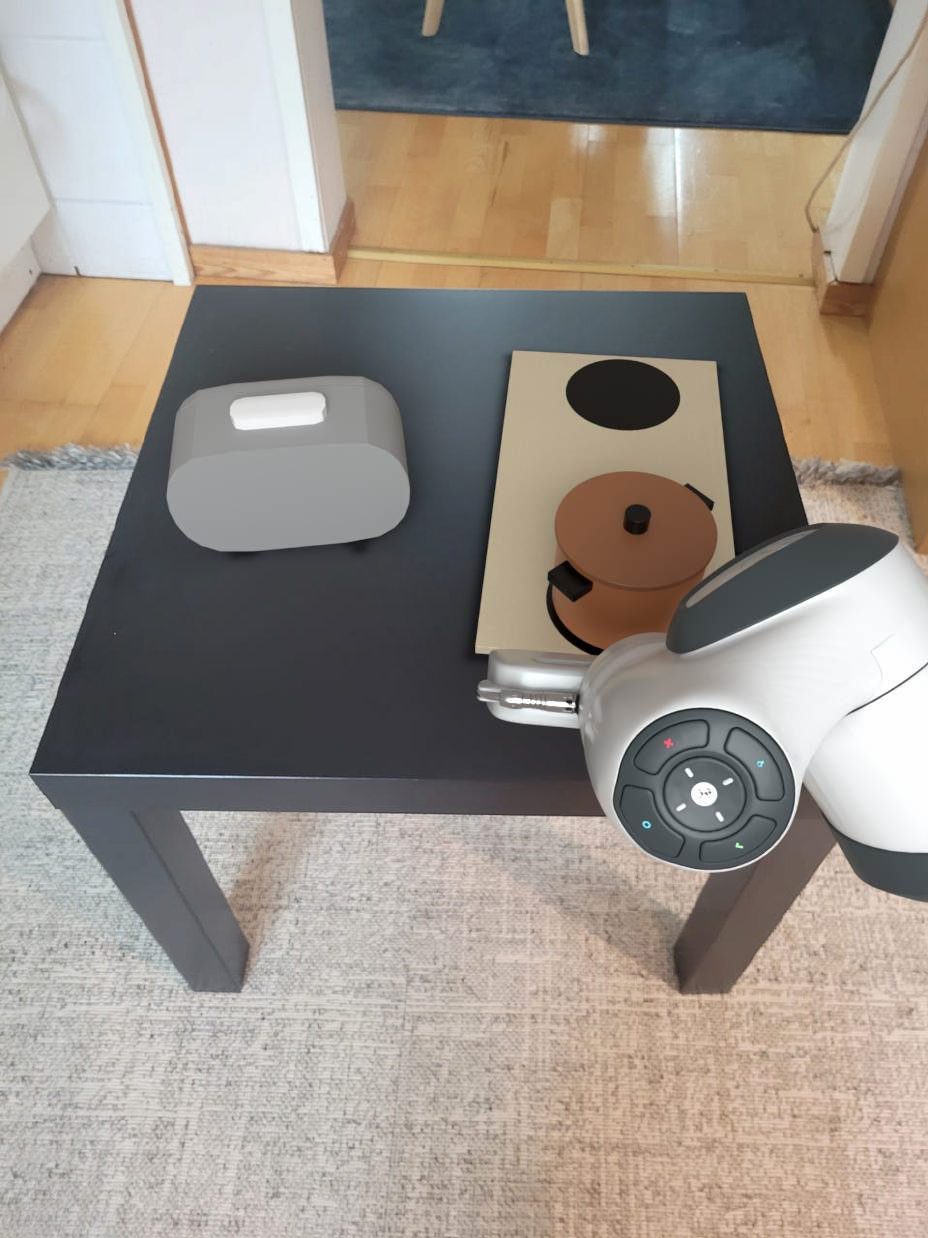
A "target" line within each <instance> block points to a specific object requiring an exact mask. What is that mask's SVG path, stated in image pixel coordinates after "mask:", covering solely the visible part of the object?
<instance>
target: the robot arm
mask: <svg viewBox="0 0 928 1238" xmlns="http://www.w3.org/2000/svg"><path fill="white" fill-rule="evenodd" d="M487 663H488V665H487V673H486V674H487V677H486V679H483V680H481V681H479V682H478V684H477V687H476V690H475V694H476V698H477V700H479V701H481V702H485V703H486V706H487V708H488V710H489V712H490V713H491V714H492V716H494V717H495V718H496V719H499V720H500V721H501V720H502V721H505V722H510V723H515V724H523V725H534V726H544V727H556V728H569V729H578V730H579V732H580V737H581V741H582V747H583V751H584V760H585V765H586V769H587V773H588V777H589V780H590V782H591V786H592V789H593V792H594V794H595V797H596V798H597V801H598V803H599V805H600V808H601V809H602V811H603V813H604V814H605V816H606V817H607V819H608V821H609V822H610V823H611V825H612V826H613V828H614V829H615V830H616V831H617V832H618V833H619V834H620V836H622V838H623V839H625V840H626V841H627V842H628V843H629V844H630V845H631V846H633V847H634V848H636V849H637V850H638V851H639V852H641V853H642V854H644V855H646V856H647V857H648V858H650V859H652V860H654V861H656V862H658V863H661V864H662V865H664V866H665V865H666V866H668V867H671V868H674V869H678V870H683V871H688V872H695V873H696V872H697V873H704V874H705V873H707V874H708V873H709V874H712V873H715V874H716V873H724V872H731V871H734V870H735V871H736V870H738V869H741V868H744V867H747V866H750V865H751V864H753V863H756V862H757V861H759V860H761V859H762V858H763V857H765V856H767V854H769V853H770V852H771V851H773V850H774V849H775V848H776V847H777V846H778V844H779V843H780V842H781V841H782V840H783V838H784V837H785V836H786V834H787V833H788V831H789V830H790V828H791V826H792V824H793V822H794V820H795V816H796V813H797V810H798V806H799V803H800V797H801V790H802V785H803V786H804V787H805V788H806V790H807V792H808V793H809V794H810V795H811V797H812V799H813V800H814V801H815V803H816V805H817V806H818V807H819V811H820V813H821V816H822V818H823V820H824V822H825V824H827V827H828V829H829V830H830V832H831V834H832V836H833V837H834V839H835V841H836V843H837V844H838V846H839V848H840V850H841V852H842V853H843V855H844V857H845V859H846V860H847V863H848V865H849V866H850V869H852V872H853V873H854V874H855V875H856V877H857V878H858V879H860V880H861V881H862V882H863V883H864V884H866V885H868V886H870V887H871V888H874V889H877V890H879V891H882V892H885V893H888V894H891V895H894V896H897V897H900V898H904V899H907V900H912V901H916V902H921V903H927V904H928V577H927V575H926V574H925V573H924V571H923V570H922V569H921V567H920V566H919V565H918V563H917V561H916V560H915V558H914V557H913V556H912V555H911V553H910V551H909V550H908V549H907V548H906V546H905V544H903V542H902V541H901V540H900V536H899V535H898V534H896V533H893V532H891V531H889V530H887V529H886V530H885V529H884V528H881V527H877V526H872V525H867V524H861V523H860V524H859V523H847V522H818V523H812V524H808V525H804V526H800V527H797V528H795V529H791V530H788V531H786V532H783V533H780V534H778V535H775V536H773V537H770V538H768V539H766V540H764V541H762V542H760V543H757V544H756V545H754V546H752V547H750V548H749V549H747V550H744V551H743V552H742V553H740V554H738V555H735V558H733V559H732V560H730V561H728V562H727V563H725V564H724V565H723V566H721V567H720V568H718V569H717V570H716V571H714V572H713V573H711V574H710V575H709V576H708V577H706V578H705V579H704V580H702V581H701V582H700V583H699V584H698V585H697V586H695V587H694V588H693V589H692V590H691V591H690V592H689V593H688V594H687V595H686V596H685V597H684V598H683V599H682V600H681V601H680V603H679V605H678V607H677V609H676V611H675V613H674V615H673V618H672V620H671V623H670V625H669V628H668V632H667V633H657V632H652V633H642V634H637V635H633V636H629V637H627V638H624V639H622V640H620V641H618V642H616V643H614V644H613V645H611V646H609V647H608V648H607V649H605V650H604V651H603V652H602V653H601V654H600V655H599V656H596V655H584V654H571V653H559V652H546V651H534V650H521V649H495V650H492V651H491V652H490V654H488V662H487Z"/></svg>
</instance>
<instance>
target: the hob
mask: <svg viewBox="0 0 928 1238" xmlns="http://www.w3.org/2000/svg"><path fill="white" fill-rule="evenodd" d="M608 359H627V360H634V361H639V362H643V363H646V364H649V365H652V366H654V367H656V368H658V369H660V370H661V371H663V372H664V373H666V374H667V375H668V376H669V377H671V378H672V380H673V381H674V382H675V383H676V385H677V387H678V389H679V392H680V404H679V407H678V409H677V411H676V412H675V413H674V415H673V416H672V417H670V418H669V419H668V420H667V421H665V422H663V423H661V424H659V425H657V426H654V427H651V428H647V429H642V430H633V431H622V430H614V429H608V428H604V427H601V426H598V425H595V424H593V423H591V422H589V421H587V420H585V419H584V418H582V417H581V416H579V415H578V414H577V413H576V412H575V411H574V410H573V409H572V408H571V406H570V405H569V403H568V401H567V398H566V385H567V383H568V381H569V379H570V378H571V376H572V375H573V374H574V373H575V372H576V371H578V370H579V369H581V368H582V367H584V366H586V365H588V364H591V363H594V362H597V361H602V360H608ZM510 362H511V365H510V371H509V378H508V379H509V380H508V387H507V394H506V403H505V409H504V418H503V425H502V434H501V442H500V450H499V456H498V457H499V458H498V465H497V473H496V480H495V489H494V496H493V504H492V511H491V512H492V513H491V519H490V520H491V521H490V527H489V528H490V529H489V535H488V543H487V552H486V558H485V559H486V560H485V567H484V576H483V582H482V583H483V584H482V593H481V597H480V598H481V599H480V607H479V615H478V621H477V629H476V637H475V638H476V639H475V644H474V645H475V647H474V648H475V649H474V650H475V654H482V655H489V654H490V652H491V651H492V650H495V649H521V650H534V651H546V652H559V653H571V654H584V655H590V654H588V653H585V652H583V651H581V650H580V649H578V648H577V647H575V646H573V645H572V644H571V643H570V642H568V641H567V640H566V639H565V638H564V637H563V636H562V635H561V634H560V633H559V632H558V630H557V629H556V628H555V626H554V624H553V623H552V621H551V619H550V616H549V614H548V610H547V605H546V594H547V588H548V585H549V581H548V580H547V577H548V571H550V570H552V569H553V568H554V565H555V555H556V544H557V541H556V537H555V528H554V524H555V517H556V512H557V509H558V507H559V505H560V503H561V501H562V500H563V498H564V497H565V496H566V495H567V494H568V493H569V492H570V491H571V490H572V489H573V488H574V487H576V486H577V485H579V484H580V483H582V482H584V481H586V480H588V479H590V478H593V477H595V476H599V475H602V474H606V473H612V472H622V471H635V472H645V473H650V474H655V475H659V476H662V477H665V478H668V479H670V480H673V481H675V482H677V483H679V484H681V485H683V486H684V485H685V484H687V483H689V484H690V485H691V486H693V487H694V488H696V489H697V490H698V491H700V492H701V493H703V494H704V495H705V496H707V497H708V498H710V499H711V500H712V501H714V506H713V510H712V511H711V513H712V515H713V517H714V520H715V522H716V526H717V532H718V540H717V545H716V549H715V552H714V555H713V557H712V559H711V561H710V562H709V564H708V565H707V567H706V570H705V573H704V577H703V580H704V579H705V578H706V577H708V576H709V575H710V574H711V573H713V572H714V571H716V570H717V569H718V568H720V567H721V566H723V565H724V564H725V563H727V562H728V561H730V560H732V559H733V558H735V557H736V552H735V543H734V532H733V523H732V512H731V502H730V489H729V482H728V470H727V461H726V460H727V459H726V450H725V441H724V440H725V438H724V430H723V420H722V410H721V409H722V407H721V400H720V390H719V389H720V388H719V378H718V367H717V361H715V360H696V359H680V358H679V359H678V358H661V357H660V358H659V357H644V356H643V357H640V356H623V355H622V356H621V355H620V356H619V355H604V354H587V353H585V354H584V353H566V352H552V351H551V352H549V351H546V352H545V351H533V350H531V351H530V350H515V349H514V350H512V355H511V361H510Z"/></svg>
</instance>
